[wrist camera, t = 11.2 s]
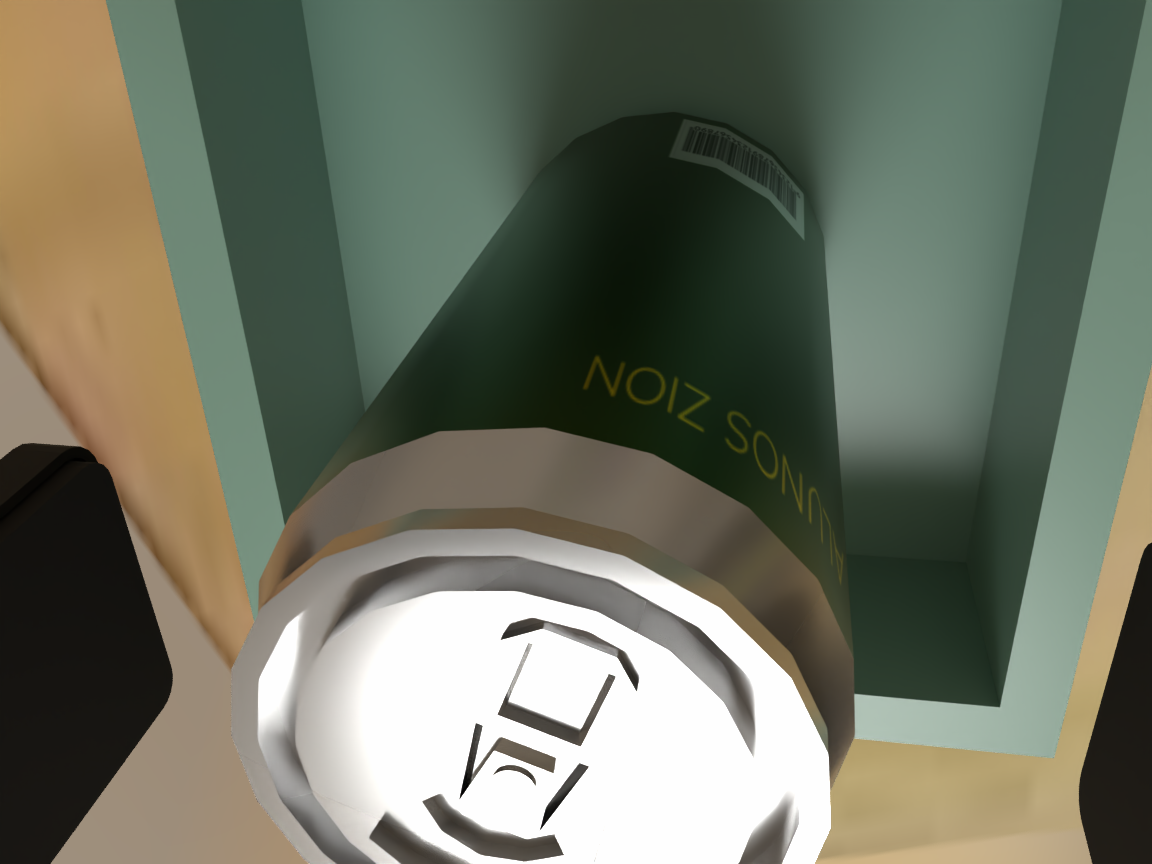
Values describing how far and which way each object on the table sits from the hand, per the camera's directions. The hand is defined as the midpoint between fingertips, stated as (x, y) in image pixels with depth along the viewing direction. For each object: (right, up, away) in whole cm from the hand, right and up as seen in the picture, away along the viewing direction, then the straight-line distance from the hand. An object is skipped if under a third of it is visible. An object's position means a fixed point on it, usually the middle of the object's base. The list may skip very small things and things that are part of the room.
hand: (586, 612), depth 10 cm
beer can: (+2, +5, +9) cm, 11 cm away
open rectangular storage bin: (+2, +5, +10) cm, 11 cm away
